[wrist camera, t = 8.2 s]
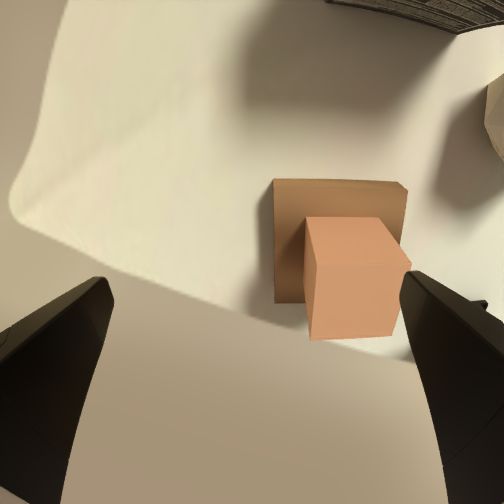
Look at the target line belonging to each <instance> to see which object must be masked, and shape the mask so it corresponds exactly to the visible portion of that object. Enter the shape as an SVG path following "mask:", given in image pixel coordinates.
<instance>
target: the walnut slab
mask: <svg viewBox="0 0 504 504" xmlns="http://www.w3.org/2000/svg"><path fill="white" fill-rule="evenodd" d="M273 188H274V275H275V303H306V301H305V293H304V285H303V272H304V251H305V225H306V217H373V218H379V219H380V220H381V221H382V223H383V224H384V225H385V227H386V228H387V229H388V231H389V232H390V233H391V235H392V236H393V238H394V239H395V240H396V242H397V243H398V244H399V245H400V239H401V234H402V228H403V222H404V215H405V209H406V202H407V194H408V190H407V189H405V188H404V187H403V186H402V185H401V184H399V183H398V182H389V181H369V180H342V179H273Z"/></svg>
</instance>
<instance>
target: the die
mask: <svg viewBox="0 0 504 504" xmlns="http://www.w3.org/2000/svg"><path fill="white" fill-rule="evenodd" d="M484 125H485V128H486V130H487V132H488V135H489V137H490V140H491V143H492V145H493V148H494V150H495V151H496V152H497V153H498V155H499V156H500V157H501V158H502V160H503V161H504V74H502V75H501V76H500V77H498V78H497V79H495V80H494V81H493V82H491V83H490V84H488V90H487V101H486V110H485V118H484Z"/></svg>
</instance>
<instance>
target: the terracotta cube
mask: <svg viewBox="0 0 504 504" xmlns="http://www.w3.org/2000/svg"><path fill="white" fill-rule="evenodd" d="M411 265H412V263H411V262H410V260H409V259H408V257H407V256H406V254H405V253H404V252H403V250H402V249H401V247H400V246H399V244H398V243H397V242H396V240H395V239H394V238H393V236H392V235H391V233H390V232H389V231H388V229H387V228H386V227H385V225H384V224H383V223H382V221H381V220H380V219H379V218H373V217H306V225H305V251H304V272H303V285H304V293H305V301H306V309H307V318H308V326H309V335H310V340H332V339H353V338H370V337H384V336H392V333H393V330H394V327H395V324H396V321H397V317H398V314H399V311H400V307H401V306H400V302H399V293H400V289H401V286H402V282H403V278H404V274H405V273H406V272H407V271H410V269H411Z"/></svg>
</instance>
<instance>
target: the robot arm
mask: <svg viewBox="0 0 504 504" xmlns="http://www.w3.org/2000/svg"><path fill="white" fill-rule="evenodd" d="M399 302H400V306H401V310H402V314H403V318H404V322H405V326H406V330H407V335H408V339H409V343H410V346H411V349H412V352H413V355H414V358H415V362H416V365H417V368H418V371H419V374H420V378H421V381H422V384H423V387H424V391H425V394H426V398H427V402H428V405H429V409H430V413H431V417H432V421H433V424H434V429H435V433H436V437H437V441H438V446H439V451H440V456H441V460H442V465H443V472H444V477H445V483H446V489H447V496H448V503H449V504H504V324H503V322H502V321H501V320H499V319H498V318H496V317H495V316H493V315H491V314H490V313H488V312H487V311H486V309H487V306H488V303H487V301H486V300H480V301H469V300H467V299H466V298H464V297H463V296H461V295H459V294H458V293H456V292H454V291H453V290H451V289H449V288H448V287H446V286H444V285H443V284H441V283H439V282H437V281H436V280H434V279H432V278H431V277H429V276H427V275H425V274H424V273H422V272H420V271H407V272H406V273H405V274H404V278H403V282H402V286H401V289H400V293H399ZM113 307H114V298H113V295H112V292H111V289H110V286H109V283H108V280H107V279H106V278H105V277H92V278H90V279H89V280H87V281H85V282H84V283H82V284H80V285H78V286H77V287H75V288H73V289H71V290H70V291H68V292H66V293H65V294H63V295H61V296H59V297H58V298H56V299H54V300H52V301H51V302H49V303H48V304H46V305H44V306H43V307H41V308H39V309H38V310H36V311H34V312H33V313H31V314H29V315H28V316H26V317H25V318H23V319H21V320H20V321H18V322H17V323H15V324H14V325H12V326H11V327H9V328H7V329H5V330H4V331H2V332H1V333H0V504H27V503H29V504H60V501H61V496H62V491H63V486H64V481H65V476H66V471H67V466H68V462H69V460H68V459H69V457H70V453H71V449H72V445H73V441H74V437H75V433H76V430H77V426H78V423H79V419H80V416H81V412H82V408H83V405H84V402H85V399H86V395H87V392H88V389H89V386H90V383H91V380H92V377H93V374H94V371H95V368H96V365H97V362H98V359H99V356H100V353H101V350H102V347H103V344H104V341H105V337H106V333H107V329H108V325H109V321H110V318H111V314H112V310H113Z"/></svg>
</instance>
